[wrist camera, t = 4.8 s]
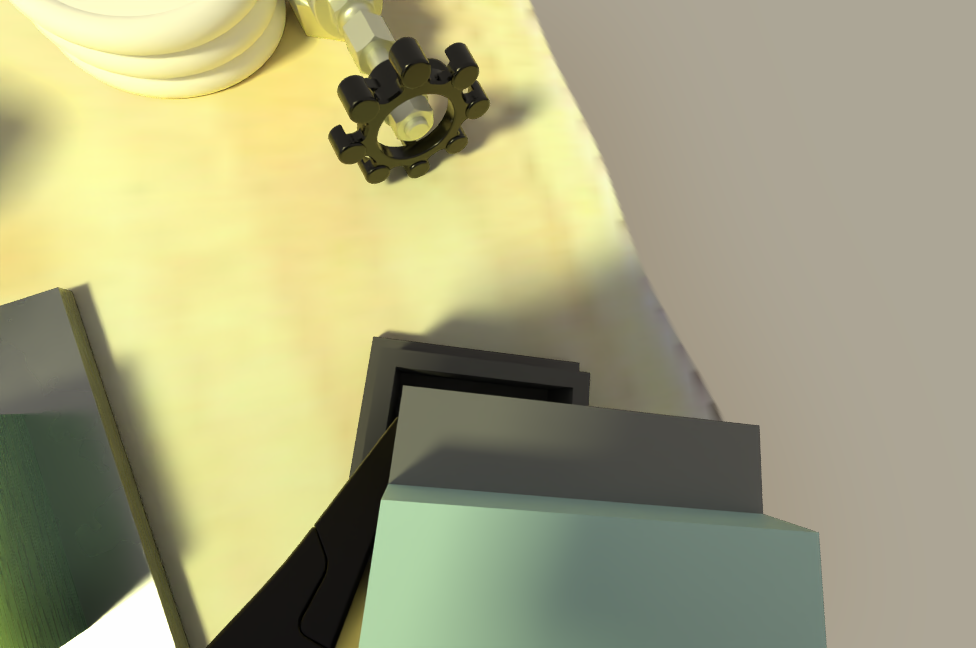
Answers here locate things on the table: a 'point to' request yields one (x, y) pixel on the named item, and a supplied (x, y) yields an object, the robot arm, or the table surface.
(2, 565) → the port
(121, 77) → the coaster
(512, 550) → the plug
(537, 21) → the table surface
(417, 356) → the box
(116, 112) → the table surface
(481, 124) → the table surface
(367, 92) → the valve
